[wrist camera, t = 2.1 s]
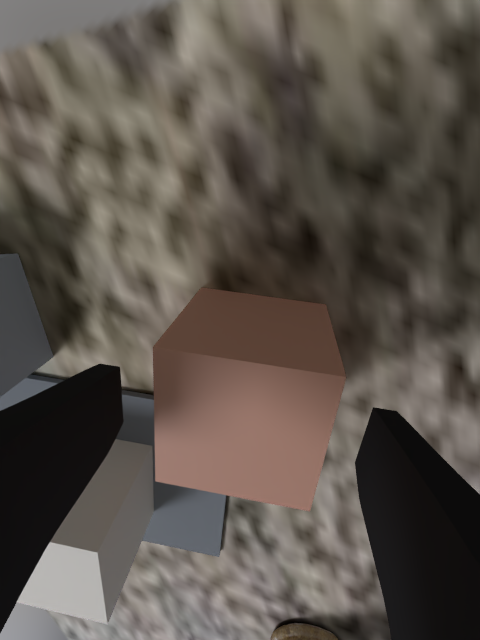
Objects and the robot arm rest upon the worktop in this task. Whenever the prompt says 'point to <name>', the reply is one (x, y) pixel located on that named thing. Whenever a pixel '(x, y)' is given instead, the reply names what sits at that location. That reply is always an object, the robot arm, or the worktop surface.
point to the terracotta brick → (246, 397)
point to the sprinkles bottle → (301, 633)
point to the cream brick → (97, 538)
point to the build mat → (169, 500)
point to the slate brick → (19, 326)
